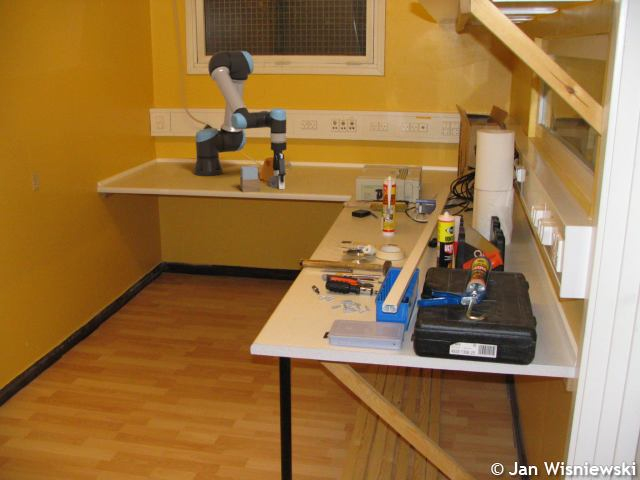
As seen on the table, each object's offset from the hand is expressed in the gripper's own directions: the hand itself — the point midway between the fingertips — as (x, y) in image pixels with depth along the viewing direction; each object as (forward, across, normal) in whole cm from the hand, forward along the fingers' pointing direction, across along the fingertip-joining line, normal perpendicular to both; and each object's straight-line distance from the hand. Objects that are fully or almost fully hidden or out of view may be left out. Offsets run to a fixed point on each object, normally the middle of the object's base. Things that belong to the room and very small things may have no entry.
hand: (279, 186), depth 329 cm
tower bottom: (0, -4, +15) cm, 16 cm away
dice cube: (+1, 0, +1) cm, 1 cm away
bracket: (0, +16, 0) cm, 16 cm away
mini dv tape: (+1, -67, -48) cm, 82 cm away
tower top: (-6, -4, +15) cm, 17 cm away
